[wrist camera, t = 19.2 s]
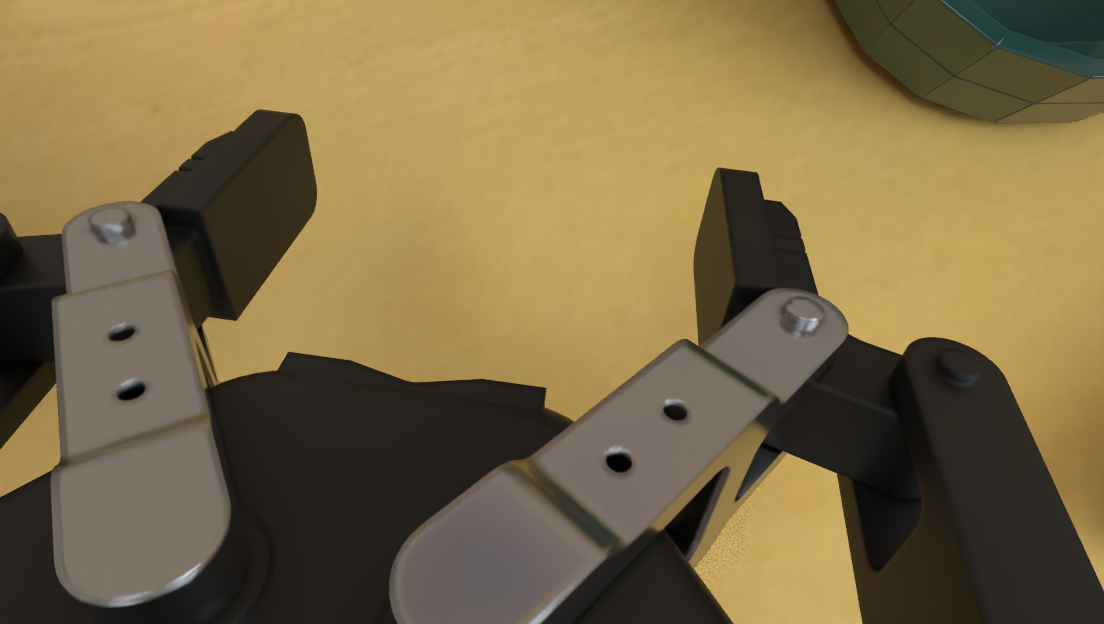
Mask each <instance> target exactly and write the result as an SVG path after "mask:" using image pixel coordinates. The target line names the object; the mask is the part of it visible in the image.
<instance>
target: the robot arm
mask: <svg viewBox="0 0 1104 624" xmlns="http://www.w3.org/2000/svg"><path fill="white" fill-rule="evenodd" d="M191 157H192V158H191V159H188V160H186V161H185V162H184V163H183V164H182V165H181V166H180V167H179V171H177V170H175V171H174V172H173V173H172V174H171V175H170V176H169V177H168V178H166V179H165V180H164V181H163V182H162V183H161V184H160V185H159V186H158V187H157V188H155V189H154V190H153V191H152V192H151V193H150V194H149V195H148V196H147V197H145V198H144V199H143V200H142V201H141V202H133V201H124V202H114V203H108V204H103V205H99V206H96V207H93V208H90V209H88V210H86V211H84V212H82V213H80V214H78V215H76V216H75V217H73V218H72V219H71V220H70V221H69V222H67V224H66V225H65V226H64V228H63V230H62V234H56V235H40V236H24V237H17V236H16V234H15V232H14V230H13V229H12V227H11V225H10V223H9V221H8V220H7V218H6V216H4V215H3V214H2V213H0V449H1V448H2V447H3V445H4V444H5V443H6V442H7V441H8V439H9V438H10V437H11V436H12V435H13V434H14V432H15V431H16V430H17V429H18V428H19V426H20V425H21V424H22V423H23V422H24V420H25V419H26V418H27V417H28V416H29V415H30V413H31V412H32V411H33V410H34V409H35V407H36V406H37V405H38V404H39V403H40V401H41V400H42V399H43V398H44V397H45V395H46V394H47V393H48V392H49V391H50V390H51V388H52V387H53V386H54V385H55V384H57V401H58V418H59V435H60V451H61V457H60V462H59V464H58V465H56V466H55V467H54V468H53V470H51V471H50V472H48V473H46V474H44V475H42V476H40V477H38V478H36V479H34V480H32V481H31V482H29V483H27V484H25V485H23V486H21V487H19V488H17V489H15V490H13V491H12V492H10V493H8V494H6V495H4V496H2V497H0V624H733V622H732V621H731V620H730V618H729V617H728V615H727V614H726V613H725V611H724V610H723V609H722V607H721V606H720V604H719V603H718V602H717V600H716V599H715V598H714V596H713V595H712V593H711V592H710V591H709V589H708V588H707V587H706V585H705V584H704V582H703V581H702V580H701V578H700V577H699V576H698V574H697V573H696V571H695V570H694V568H695V567H696V566H697V565H698V563H699V562H700V561H701V560H702V558H703V557H704V556H705V555H706V553H707V552H708V550H709V549H710V548H711V546H712V545H713V543H714V542H715V540H716V539H717V537H718V535H719V534H720V532H721V531H722V529H723V528H724V526H725V525H726V523H727V522H728V521H729V519H730V518H731V517H732V516H733V515H734V513H735V512H736V511H737V510H738V509H739V508H740V507H741V505H742V504H743V503H744V502H745V501H746V500H747V499H748V497H749V496H750V495H751V494H752V493H753V492H754V491H755V490H756V488H757V487H758V486H759V485H760V484H761V483H762V482H763V480H764V479H765V478H766V477H767V476H768V475H769V474H770V472H771V471H772V470H773V469H774V468H775V467H776V466H777V465H778V463H779V462H780V461H781V460H782V459H783V458H784V457H785V455H786V454H787V453H789V454H792V455H794V456H796V457H799V458H801V459H804V460H806V461H808V462H811V463H813V464H816V465H818V466H821V467H823V468H825V469H828V470H830V471H833V472H835V473H837V477H838V482H839V488H840V494H841V500H842V506H843V512H844V518H845V524H846V529H847V535H848V541H849V547H850V553H851V559H852V565H853V571H854V576H855V582H856V588H857V594H858V600H859V606H860V612H861V617H862V623H863V624H1104V590H1103V588H1102V586H1101V584H1100V582H1099V579H1098V577H1097V575H1096V573H1095V571H1094V569H1093V566H1092V564H1091V562H1090V560H1089V558H1088V556H1087V553H1086V551H1085V549H1084V547H1083V545H1082V543H1081V540H1080V538H1079V536H1078V534H1077V532H1076V530H1075V527H1074V525H1073V523H1072V521H1071V519H1070V517H1069V514H1068V512H1067V510H1066V508H1065V506H1064V504H1063V501H1062V499H1061V497H1060V495H1059V493H1058V490H1057V488H1056V486H1055V484H1054V482H1053V480H1052V477H1051V475H1050V473H1049V471H1048V469H1047V467H1046V464H1045V462H1044V460H1043V458H1042V456H1041V454H1040V451H1039V449H1038V447H1037V445H1036V443H1035V441H1034V438H1033V436H1032V434H1031V432H1030V430H1029V428H1028V425H1027V423H1026V421H1025V419H1024V417H1023V415H1022V412H1021V410H1020V408H1019V406H1018V404H1017V401H1016V399H1015V397H1014V395H1013V393H1012V391H1011V388H1010V386H1009V384H1008V382H1007V380H1006V378H1005V376H1004V375H1003V373H1002V372H1001V371H1000V369H999V368H998V367H997V366H996V365H995V364H994V363H993V362H992V361H991V360H989V359H988V358H987V357H986V356H984V355H983V354H981V353H980V352H978V351H976V350H974V349H973V348H971V347H969V346H966V345H964V344H962V343H959V342H956V341H953V340H949V339H944V338H936V337H927V338H921V339H918V340H915V341H914V342H912V343H911V344H910V345H909V346H908V347H907V348H906V350H905V352H904V353H903V355H900V354H897V353H894V352H891V351H888V350H886V349H883V348H880V347H877V346H874V345H871V344H869V343H866V342H864V341H861V340H859V339H857V338H855V337H853V336H851V335H849V334H848V323H847V320H846V319H845V317H844V315H843V314H842V313H841V311H840V310H839V309H838V308H837V307H836V306H834V305H833V304H832V303H831V302H829V301H828V300H826V299H824V298H823V297H820V296H819V295H818V292H817V288H816V285H815V281H814V278H813V274H812V271H811V267H810V264H809V260H808V257H807V254H806V253H805V247H804V243H803V240H802V239H801V233H800V229H799V226H798V222H797V219H796V217H795V216H794V215H793V214H792V213H791V212H790V211H789V210H788V209H787V208H786V207H785V206H784V205H783V203H782V202H779V201H771V200H764V198H763V193H762V189H761V184H760V180H759V176H758V173H757V172H750V171H742V170H734V169H726V168H717V169H716V171H715V173H714V176H713V179H712V183H711V187H710V191H709V194H708V198H707V202H706V206H705V209H704V213H703V217H702V221H701V225H700V228H699V232H698V236H697V240H696V246H695V252H694V282H695V297H696V312H697V327H698V342H699V346H697V345H696V344H694V343H692V342H691V341H689V340H688V339H681V340H679V341H677V342H676V343H674V344H673V345H672V346H670V347H669V348H668V349H666V350H665V351H664V352H663V353H661V354H660V355H659V356H658V357H656V358H655V359H654V360H653V361H651V362H650V363H649V364H647V365H646V366H645V367H644V368H642V369H641V370H640V371H639V372H637V373H636V374H635V375H633V376H632V377H631V378H630V379H628V380H627V381H626V382H625V383H623V384H622V385H621V386H620V387H618V388H617V389H616V390H614V391H613V392H612V393H611V394H609V395H608V396H607V397H606V398H604V399H603V400H602V401H600V402H599V403H598V404H597V405H595V406H594V407H593V408H592V409H590V410H589V411H588V412H586V413H585V414H584V415H583V416H581V417H580V418H579V419H578V420H576V421H575V422H574V421H572V420H571V419H569V418H567V417H565V416H563V415H561V414H559V413H557V412H555V411H552V410H550V409H547V408H545V397H546V388H543V387H536V386H529V385H522V384H514V383H507V382H500V381H493V380H486V379H473V380H455V381H436V382H409V381H405V380H402V379H400V378H397V377H394V376H391V375H389V374H386V373H383V372H381V371H378V370H375V369H372V368H370V367H367V366H364V365H362V364H359V363H356V362H353V361H350V360H343V359H336V358H329V357H322V356H315V355H308V354H300V353H293V352H288V353H287V355H286V357H285V358H284V360H283V362H282V363H281V365H280V367H279V368H278V370H277V371H268V372H261V373H254V374H250V375H246V376H241V377H238V378H234V379H231V380H228V381H225V382H222V383H220V382H219V379H218V375H217V372H216V368H215V365H214V361H213V358H212V354H211V351H210V347H209V344H208V341H207V337H206V334H205V332H204V329H203V326H202V324H203V323H204V321H205V320H206V319H207V317H213V318H220V319H227V320H234V321H237V319H238V318H239V316H240V315H241V314H242V312H243V311H244V309H245V308H246V307H247V305H248V304H249V302H250V301H251V300H252V298H253V297H254V296H255V294H256V293H257V291H258V290H259V289H260V287H261V286H262V284H263V283H264V282H265V280H266V279H267V278H268V276H269V275H270V273H271V272H272V271H273V269H274V268H275V266H276V265H277V264H278V262H279V261H280V259H281V258H282V257H283V255H284V254H285V253H286V251H287V250H288V248H289V247H290V246H291V244H292V243H293V241H294V240H295V239H296V237H297V236H298V234H299V233H300V232H301V230H302V229H303V228H304V226H305V225H306V223H307V222H308V221H309V219H310V218H311V216H312V214H313V212H314V209H315V206H316V200H317V186H316V180H315V175H314V169H313V164H312V158H311V153H310V148H309V142H308V137H307V131H306V127H305V123H304V121H303V119H302V118H301V116H300V115H298V114H293V113H285V112H277V111H269V110H256V111H255V112H254V113H253V114H252V115H251V116H250V117H249V118H247V119H246V120H245V121H244V122H243V123H242V124H241V125H240V126H239V127H238V128H237V129H236V130H235V131H234V132H233V131H230V132H228V133H226V134H224V135H221V136H219V137H217V138H215V139H213V140H210V141H208V142H206V143H205V144H204V145H203V146H202V147H201V148H200V149H199V150H198V151H196V152H195V153H194V154H193V155H192V156H191Z"/></svg>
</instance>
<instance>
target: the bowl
mask: <svg viewBox="0 0 1104 624" xmlns="http://www.w3.org/2000/svg"><path fill="white" fill-rule="evenodd" d="M834 1H835V3H836V5H837V6H838V8H839V10H840V12H841V14H842V15H843V17H844V19H845V21H846V22H847V24H848V26H849V28H850V29H851V31H852V33H853V35H854V36H855V38H856V40H857V42H858V44H859V45H860V47H861V49H862V50H863V51H864V53H865V54H867V55H868V56H869V57H870V58H872V59H873V60H874V61H875V62H876V63H878V64H879V65H880V66H881V67H883V68H884V69H885V70H886V71H887V72H889V73H890V74H891V75H892V76H894V77H895V78H896V79H897V80H898V81H900V82H901V83H902V84H903V85H905V86H906V87H907V88H908V89H909V90H911V91H912V92H913V93H914V94H916V95H917V96H918V97H921V98H922V99H925V100H928V101H931V102H934V103H937V104H939V105H942V106H945V107H948V108H951V109H954V110H957V111H960V112H963V113H966V114H969V115H972V116H975V117H977V118H980V119H983V120H986V121H989V122H994V123H1071V122H1076V121H1079V120H1082V119H1085V118H1088V117H1091V116H1094V115H1097V114H1100V113H1102V112H1104V0H834Z"/></svg>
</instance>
